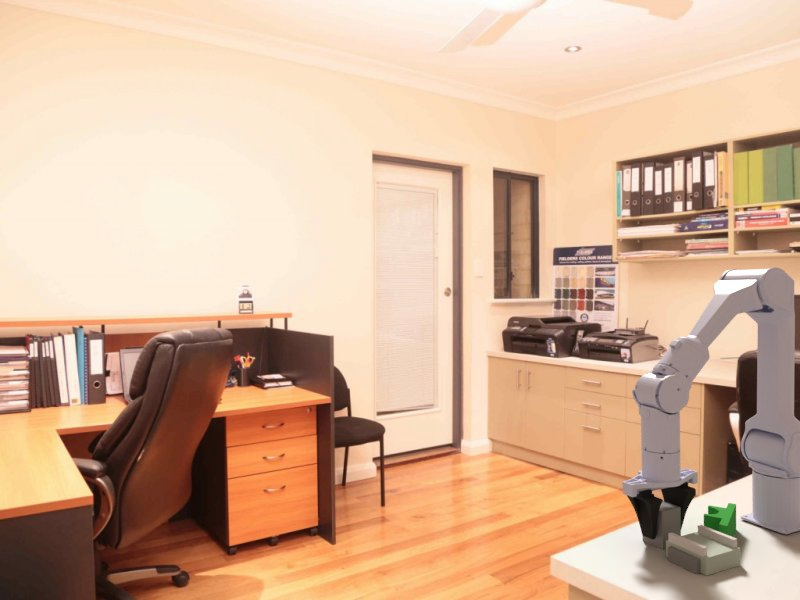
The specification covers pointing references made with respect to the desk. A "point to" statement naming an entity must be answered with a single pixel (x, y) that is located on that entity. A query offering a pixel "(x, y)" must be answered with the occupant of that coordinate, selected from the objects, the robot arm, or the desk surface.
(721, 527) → the pipe clamp
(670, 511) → the dark grey block
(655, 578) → the desk surface
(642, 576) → the desk surface
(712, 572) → the pale grey-green blocky piece
